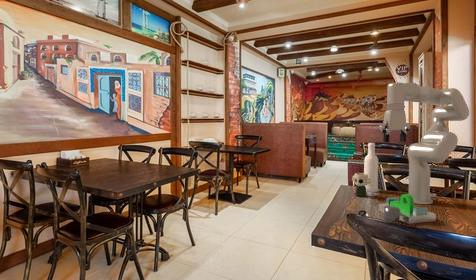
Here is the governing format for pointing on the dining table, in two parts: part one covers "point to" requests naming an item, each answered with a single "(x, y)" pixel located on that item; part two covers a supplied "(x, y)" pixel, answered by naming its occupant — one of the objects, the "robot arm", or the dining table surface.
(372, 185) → the bottle
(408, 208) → the mechanical part
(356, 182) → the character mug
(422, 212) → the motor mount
